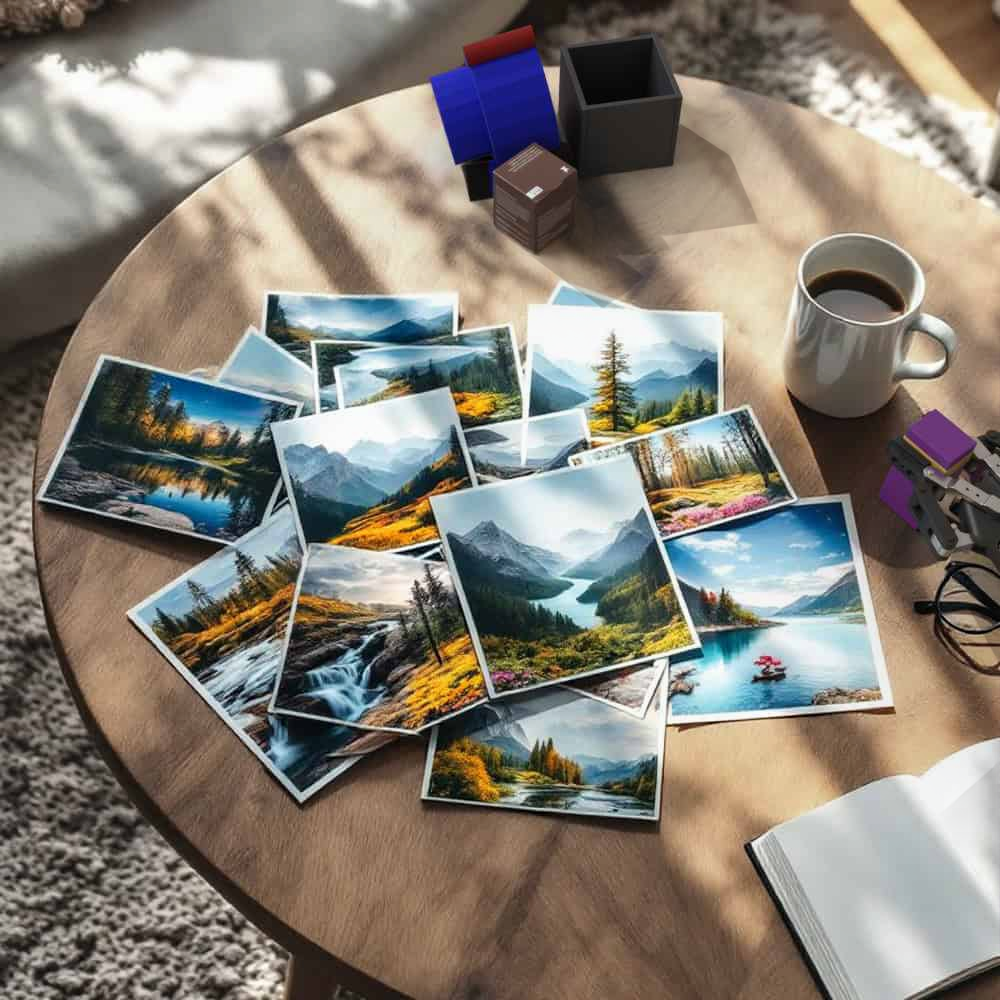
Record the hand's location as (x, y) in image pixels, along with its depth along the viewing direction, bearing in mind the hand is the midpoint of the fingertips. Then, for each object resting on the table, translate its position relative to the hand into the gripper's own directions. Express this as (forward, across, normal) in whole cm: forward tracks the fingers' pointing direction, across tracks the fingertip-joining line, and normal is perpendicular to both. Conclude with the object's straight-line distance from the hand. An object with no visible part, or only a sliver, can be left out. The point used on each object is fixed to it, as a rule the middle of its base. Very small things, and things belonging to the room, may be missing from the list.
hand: (907, 431), depth 102 cm
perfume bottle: (-3, 0, +8) cm, 8 cm away
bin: (+48, -10, +8) cm, 50 cm away
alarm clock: (+54, +1, +8) cm, 55 cm away
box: (+43, +4, +8) cm, 44 cm away
